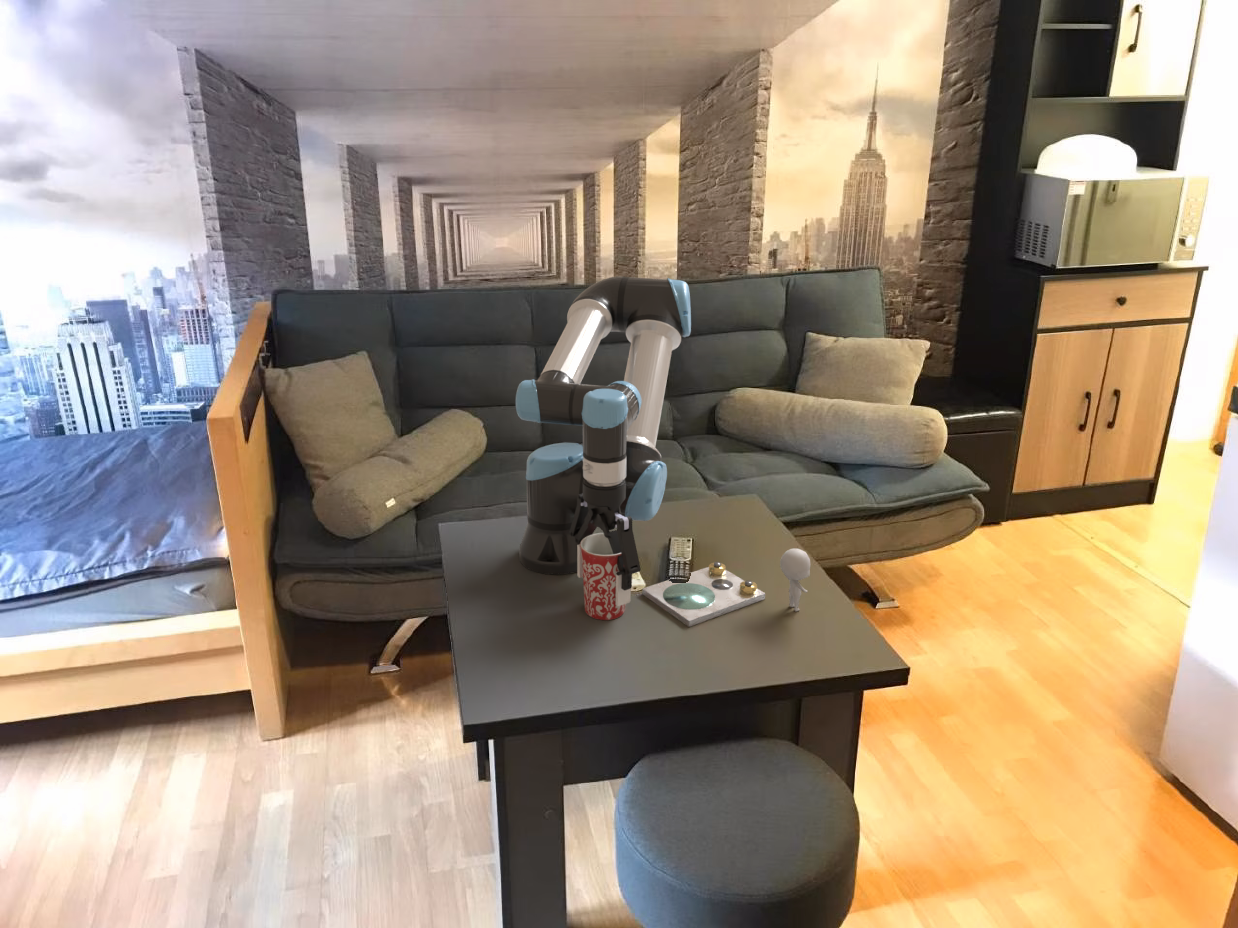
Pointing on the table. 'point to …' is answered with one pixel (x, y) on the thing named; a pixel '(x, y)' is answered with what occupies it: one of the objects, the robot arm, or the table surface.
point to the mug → (600, 578)
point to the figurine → (795, 573)
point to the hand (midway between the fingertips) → (603, 589)
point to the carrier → (704, 594)
